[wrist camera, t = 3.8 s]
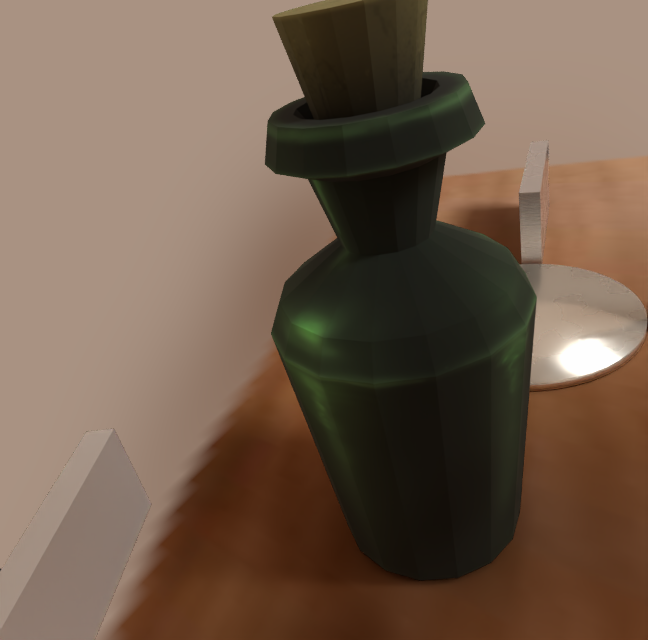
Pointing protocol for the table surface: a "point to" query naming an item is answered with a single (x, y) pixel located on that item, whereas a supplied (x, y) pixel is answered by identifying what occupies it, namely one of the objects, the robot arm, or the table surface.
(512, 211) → the table surface
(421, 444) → the potion bottle
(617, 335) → the shiny disc with plates
